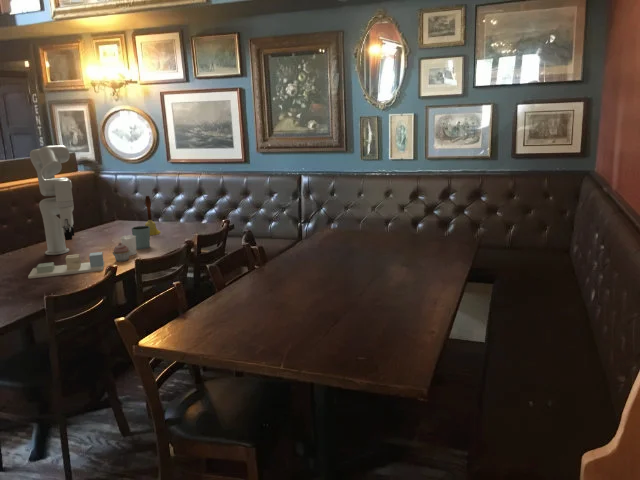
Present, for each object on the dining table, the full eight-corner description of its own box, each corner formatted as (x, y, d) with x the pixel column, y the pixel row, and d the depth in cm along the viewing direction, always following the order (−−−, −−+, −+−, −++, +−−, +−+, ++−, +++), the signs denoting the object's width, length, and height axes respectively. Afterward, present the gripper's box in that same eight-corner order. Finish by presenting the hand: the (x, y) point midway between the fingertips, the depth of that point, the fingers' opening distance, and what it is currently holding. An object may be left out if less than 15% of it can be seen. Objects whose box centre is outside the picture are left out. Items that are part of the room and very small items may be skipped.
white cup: (132, 256, 297) (130, 238, 295) (120, 255, 299) (117, 238, 297) (140, 252, 305) (138, 235, 303) (127, 252, 307) (125, 235, 304)
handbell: (146, 231, 360) (142, 194, 354) (164, 231, 358) (160, 194, 352) (138, 235, 348) (133, 197, 342) (156, 235, 346) (152, 197, 340)
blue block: (91, 264, 279) (89, 253, 278) (103, 262, 281) (102, 251, 280) (90, 267, 274) (89, 255, 272) (103, 265, 276) (101, 254, 274)
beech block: (68, 266, 276) (66, 255, 274) (81, 265, 278) (79, 254, 276) (67, 269, 270) (65, 258, 269) (80, 268, 272) (78, 257, 271)
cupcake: (109, 262, 287) (107, 244, 285) (121, 257, 296) (119, 239, 293) (123, 263, 284) (121, 245, 282) (135, 258, 292) (133, 240, 290)
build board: (33, 270, 275) (32, 262, 274) (104, 262, 286) (103, 255, 285) (28, 278, 261) (27, 270, 260) (103, 270, 272) (101, 262, 271)
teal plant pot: (130, 248, 314) (127, 228, 312) (141, 244, 323) (139, 225, 321) (143, 249, 311) (141, 229, 308) (155, 245, 320) (153, 226, 317)
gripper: (59, 202, 273) (63, 235, 277) (54, 207, 257) (59, 242, 261) (75, 201, 275) (79, 233, 279) (71, 206, 259) (76, 240, 263)
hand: (70, 237), depth 270 cm, fingers open, 9 cm apart
